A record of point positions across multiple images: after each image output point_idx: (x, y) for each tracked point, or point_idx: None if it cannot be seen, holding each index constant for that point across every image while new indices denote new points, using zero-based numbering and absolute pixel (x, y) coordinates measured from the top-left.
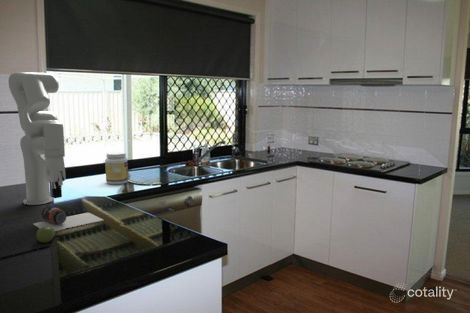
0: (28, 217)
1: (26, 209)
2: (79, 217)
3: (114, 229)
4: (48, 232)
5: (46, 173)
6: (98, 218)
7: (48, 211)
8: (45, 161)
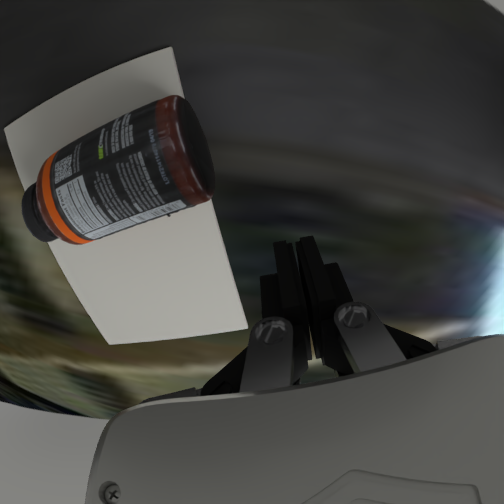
0: (360, 44)
1: (500, 97)
2: (175, 285)
3: (24, 334)
4: None
5: (499, 454)
6: (130, 337)
7: (78, 154)
8: None
